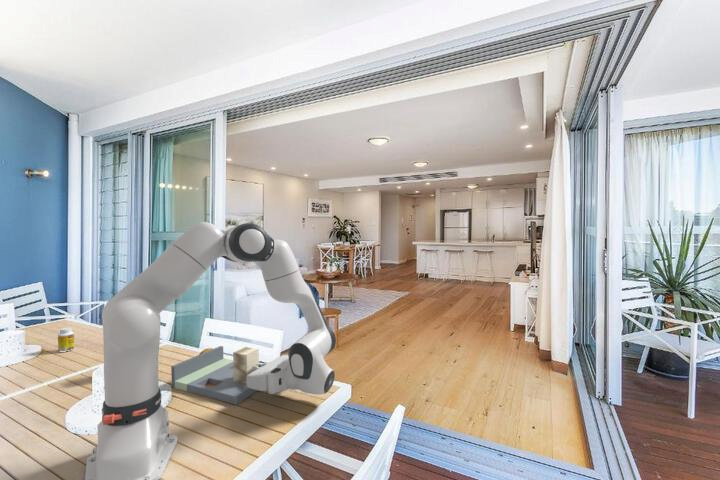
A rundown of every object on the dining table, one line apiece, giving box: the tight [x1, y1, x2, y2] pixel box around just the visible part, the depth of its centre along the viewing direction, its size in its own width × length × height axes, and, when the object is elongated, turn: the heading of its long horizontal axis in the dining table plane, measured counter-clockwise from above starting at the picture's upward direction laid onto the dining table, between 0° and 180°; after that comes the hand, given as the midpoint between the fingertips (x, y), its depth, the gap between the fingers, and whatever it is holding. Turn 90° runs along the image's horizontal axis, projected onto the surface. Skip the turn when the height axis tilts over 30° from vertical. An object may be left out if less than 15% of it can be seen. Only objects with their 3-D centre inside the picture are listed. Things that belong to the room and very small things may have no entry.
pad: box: [174, 358, 233, 392], centre depth 126 cm, size 6×22×2 cm, turn 156°
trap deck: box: [170, 345, 259, 406], centre depth 121 cm, size 30×22×8 cm
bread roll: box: [198, 347, 213, 355], centre depth 143 cm, size 8×9×4 cm
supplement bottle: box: [57, 326, 75, 352], centre depth 154 cm, size 6×6×10 cm
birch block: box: [232, 346, 260, 384], centre depth 118 cm, size 6×6×10 cm
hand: (255, 366), depth 116 cm, fingers closed
